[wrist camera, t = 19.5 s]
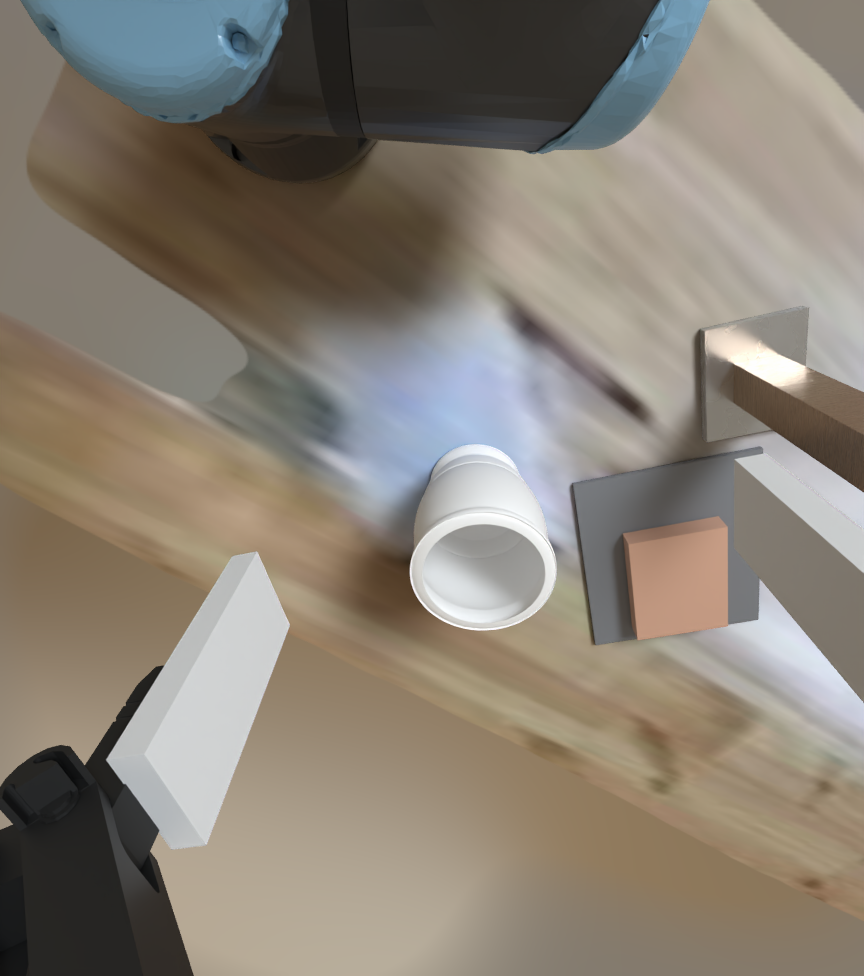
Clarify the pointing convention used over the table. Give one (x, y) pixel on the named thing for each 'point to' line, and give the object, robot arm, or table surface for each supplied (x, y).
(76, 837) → the robot arm
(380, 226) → the table surface
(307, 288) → the table surface
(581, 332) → the table surface
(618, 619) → the slate rubber mat
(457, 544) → the jar
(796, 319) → the tall wooden post
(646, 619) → the terracotta tile
